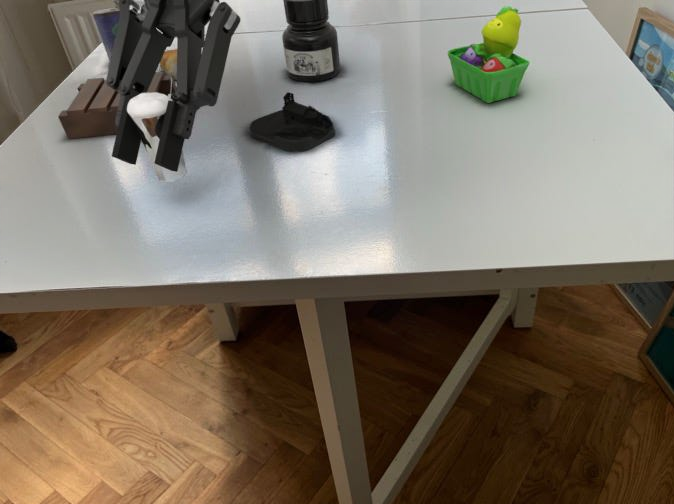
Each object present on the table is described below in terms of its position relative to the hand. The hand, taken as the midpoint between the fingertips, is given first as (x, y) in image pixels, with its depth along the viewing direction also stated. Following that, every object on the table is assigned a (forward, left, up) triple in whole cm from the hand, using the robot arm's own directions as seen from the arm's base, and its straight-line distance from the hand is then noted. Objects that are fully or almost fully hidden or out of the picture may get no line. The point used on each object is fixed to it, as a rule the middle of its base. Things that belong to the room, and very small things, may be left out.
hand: (144, 163), depth 57 cm
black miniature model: (+15, +19, -7) cm, 25 cm away
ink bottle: (+19, +40, -7) cm, 45 cm away
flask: (-13, +55, -7) cm, 57 cm away
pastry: (-4, +47, -7) cm, 48 cm away
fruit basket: (+45, +26, -7) cm, 52 cm away
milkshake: (+2, +3, -3) cm, 5 cm away
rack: (-10, +30, -7) cm, 33 cm away
